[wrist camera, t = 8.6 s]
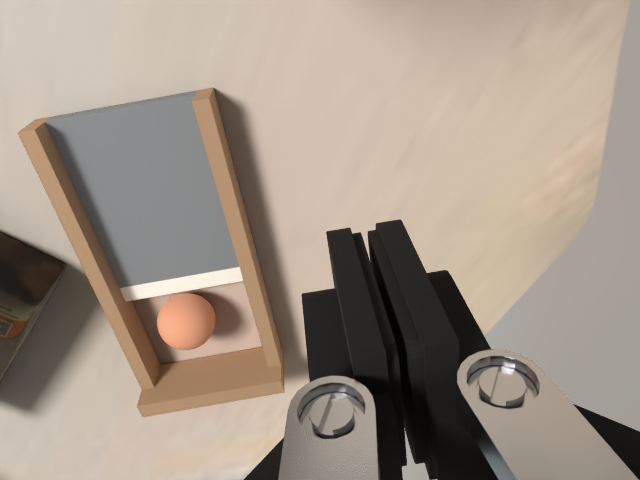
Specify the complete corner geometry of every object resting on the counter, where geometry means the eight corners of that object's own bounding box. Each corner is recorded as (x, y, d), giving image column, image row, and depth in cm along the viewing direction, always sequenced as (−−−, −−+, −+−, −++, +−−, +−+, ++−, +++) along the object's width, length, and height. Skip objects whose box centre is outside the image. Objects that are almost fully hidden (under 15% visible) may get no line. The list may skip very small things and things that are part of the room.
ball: (170, 315, 48) (148, 289, 44) (221, 304, 48) (204, 277, 44) (169, 364, 45) (146, 340, 41) (223, 352, 45) (205, 327, 41)
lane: (35, 119, 37) (4, 142, 33) (213, 87, 37) (205, 106, 33) (153, 377, 51) (142, 417, 46) (283, 354, 51) (284, 392, 46)
